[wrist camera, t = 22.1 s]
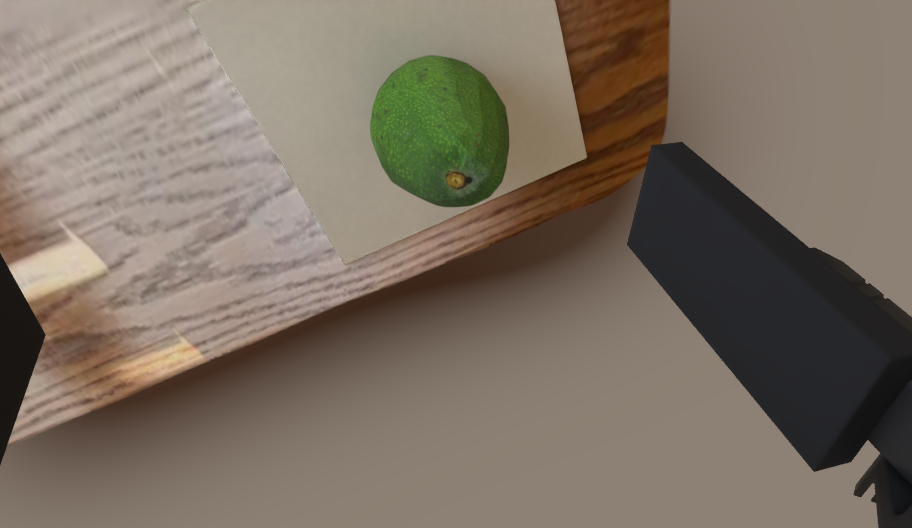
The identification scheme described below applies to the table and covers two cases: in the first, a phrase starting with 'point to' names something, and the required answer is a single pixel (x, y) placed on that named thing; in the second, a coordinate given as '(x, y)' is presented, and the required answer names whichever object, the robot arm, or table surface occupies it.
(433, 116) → the avocado
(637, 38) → the table surface
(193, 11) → the corner mat
